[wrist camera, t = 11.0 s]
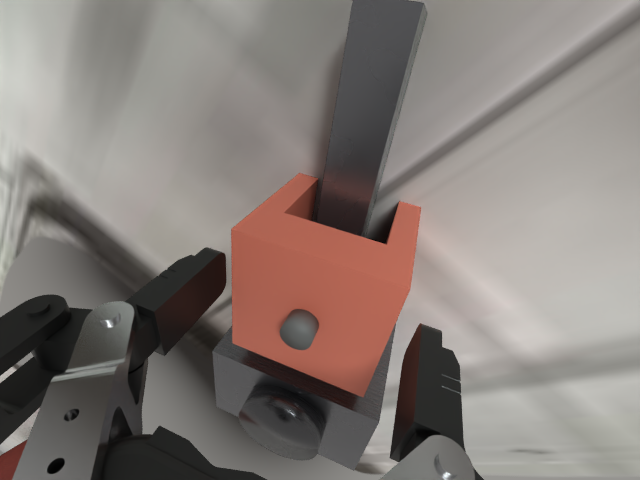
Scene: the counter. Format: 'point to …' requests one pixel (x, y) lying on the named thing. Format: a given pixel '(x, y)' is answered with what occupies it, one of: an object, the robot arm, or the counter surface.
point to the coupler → (343, 214)
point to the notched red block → (318, 287)
